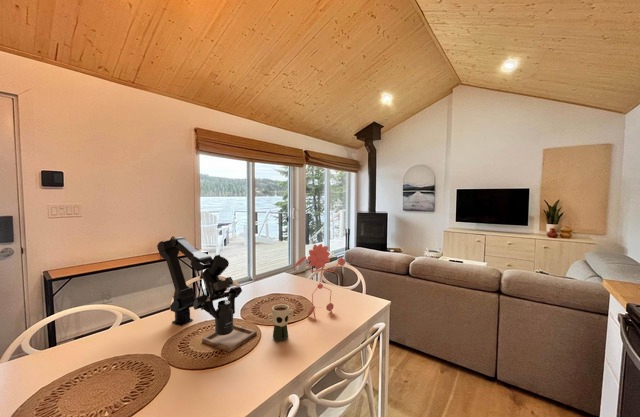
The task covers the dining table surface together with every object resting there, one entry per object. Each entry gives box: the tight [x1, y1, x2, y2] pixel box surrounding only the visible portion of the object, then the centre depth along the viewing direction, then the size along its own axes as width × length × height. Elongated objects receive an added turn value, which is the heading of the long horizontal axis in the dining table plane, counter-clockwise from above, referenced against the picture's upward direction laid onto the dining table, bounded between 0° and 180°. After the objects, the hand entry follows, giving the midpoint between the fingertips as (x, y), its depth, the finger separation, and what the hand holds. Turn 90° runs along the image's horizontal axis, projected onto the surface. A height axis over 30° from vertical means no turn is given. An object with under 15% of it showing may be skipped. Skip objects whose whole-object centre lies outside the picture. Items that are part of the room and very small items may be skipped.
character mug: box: [267, 304, 294, 342], centre depth 114 cm, size 11×7×13 cm, turn 118°
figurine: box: [294, 243, 346, 321], centre depth 139 cm, size 15×26×35 cm, turn 116°
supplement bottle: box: [214, 299, 234, 335], centre depth 110 cm, size 7×7×12 cm
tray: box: [201, 323, 257, 353], centre depth 114 cm, size 15×15×2 cm
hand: (225, 316), depth 109 cm, fingers closed on supplement bottle, 7 cm apart
